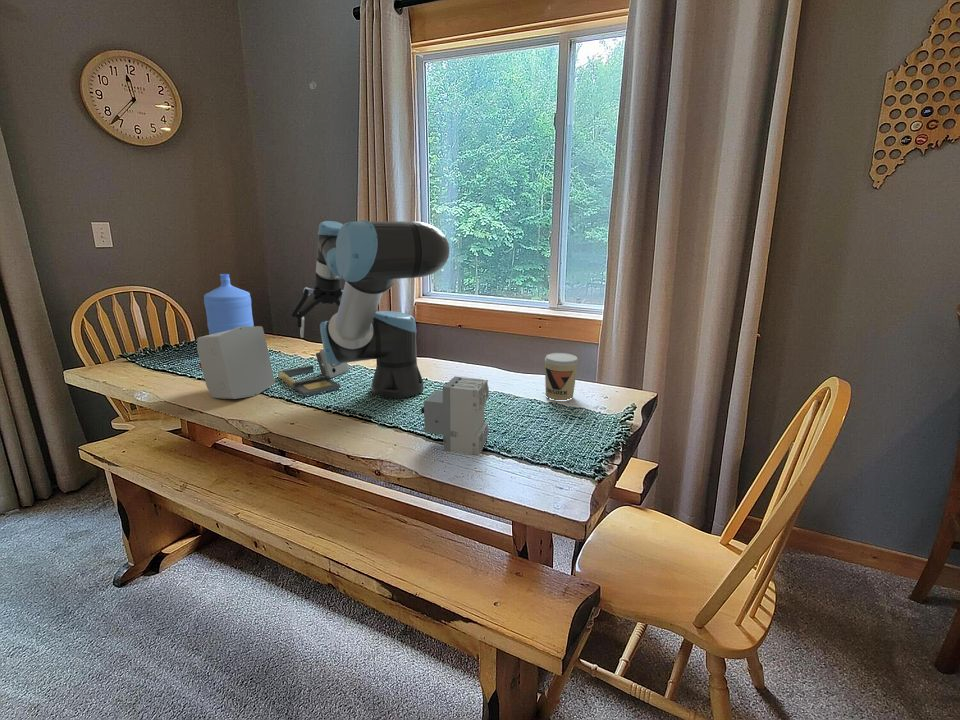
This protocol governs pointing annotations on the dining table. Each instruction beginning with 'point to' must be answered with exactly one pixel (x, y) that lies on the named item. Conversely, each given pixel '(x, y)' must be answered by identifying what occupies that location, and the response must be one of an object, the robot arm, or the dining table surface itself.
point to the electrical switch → (330, 366)
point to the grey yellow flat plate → (308, 381)
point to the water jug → (227, 307)
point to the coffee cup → (560, 375)
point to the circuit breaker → (458, 414)
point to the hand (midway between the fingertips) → (324, 335)
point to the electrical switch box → (235, 362)
